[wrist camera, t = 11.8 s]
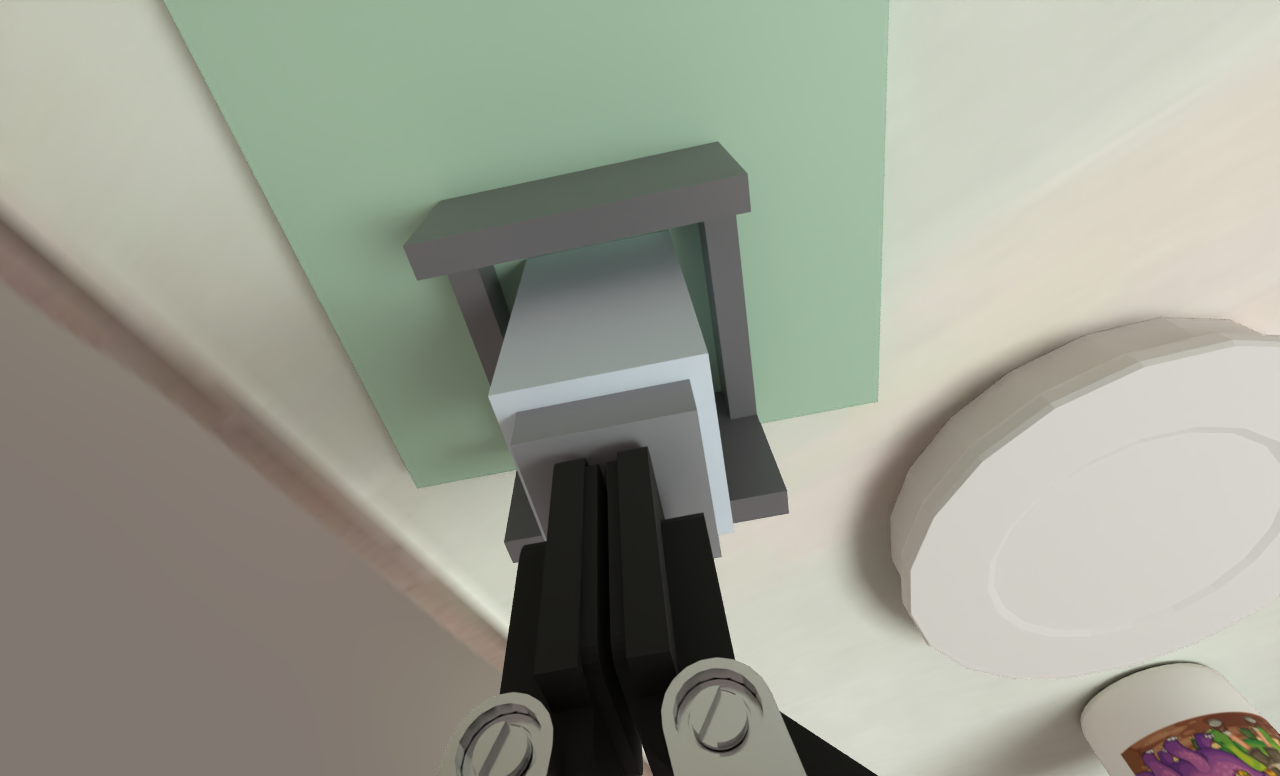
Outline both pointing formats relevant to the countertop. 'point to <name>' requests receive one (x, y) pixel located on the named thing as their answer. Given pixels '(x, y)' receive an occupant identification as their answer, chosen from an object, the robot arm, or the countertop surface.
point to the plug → (612, 376)
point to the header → (595, 213)
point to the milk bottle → (1179, 726)
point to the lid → (1099, 503)
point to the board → (559, 170)
